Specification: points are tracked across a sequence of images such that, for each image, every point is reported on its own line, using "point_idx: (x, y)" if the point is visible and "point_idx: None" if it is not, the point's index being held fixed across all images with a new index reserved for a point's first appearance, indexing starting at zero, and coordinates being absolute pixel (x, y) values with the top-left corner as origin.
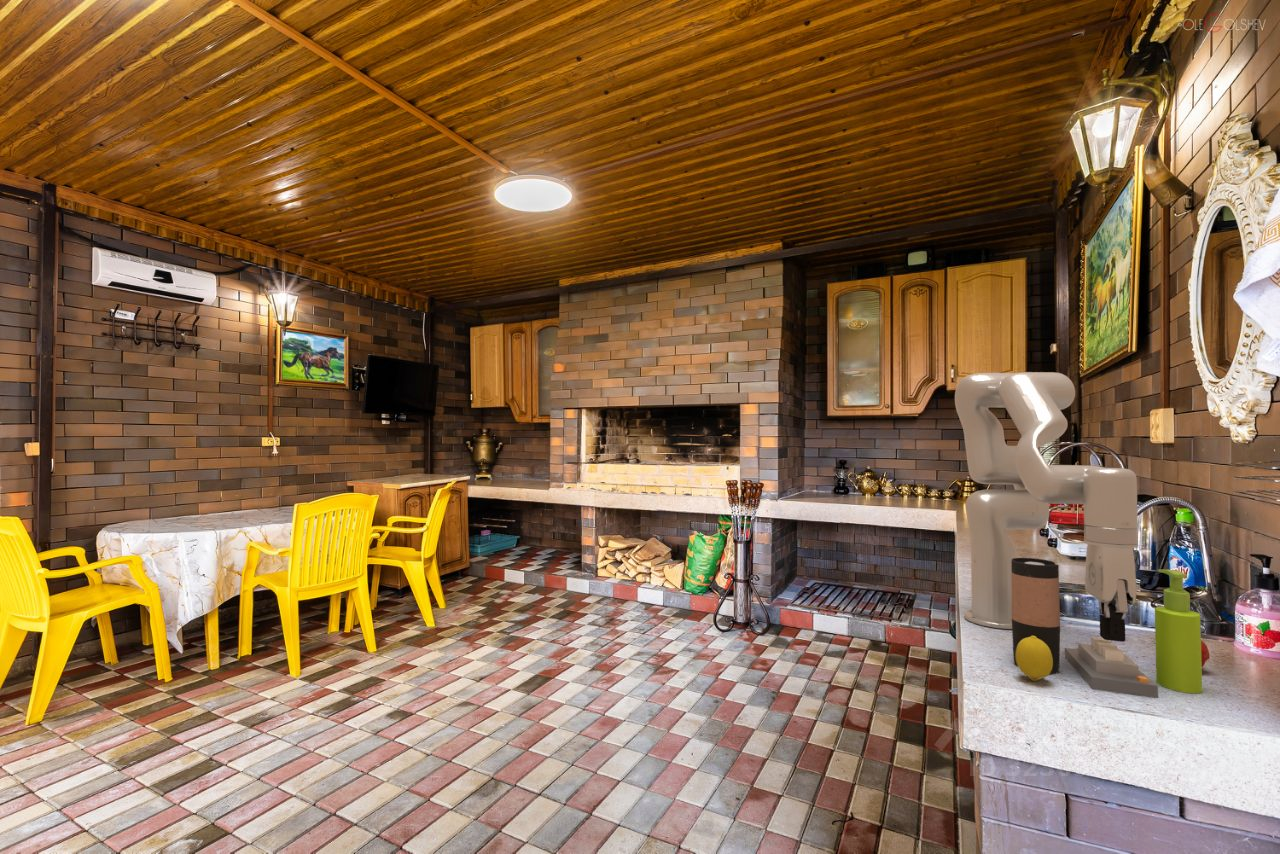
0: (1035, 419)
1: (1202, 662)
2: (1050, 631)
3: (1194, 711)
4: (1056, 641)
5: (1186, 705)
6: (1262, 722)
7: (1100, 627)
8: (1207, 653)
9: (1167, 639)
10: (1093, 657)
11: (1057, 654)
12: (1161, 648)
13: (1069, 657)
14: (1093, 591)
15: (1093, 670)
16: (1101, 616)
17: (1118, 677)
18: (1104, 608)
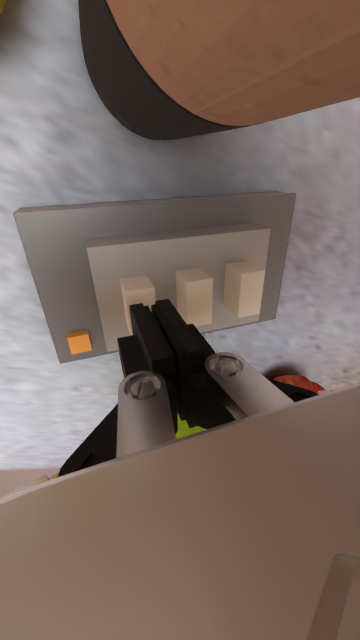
0: None
1: None
2: (105, 20)
3: (15, 393)
4: (131, 96)
5: (48, 384)
6: (37, 462)
7: (171, 316)
8: None
9: None
10: (125, 246)
11: (131, 116)
12: (179, 421)
13: (243, 195)
14: (242, 491)
15: (99, 233)
16: (184, 353)
17: (69, 290)
18: (164, 410)
